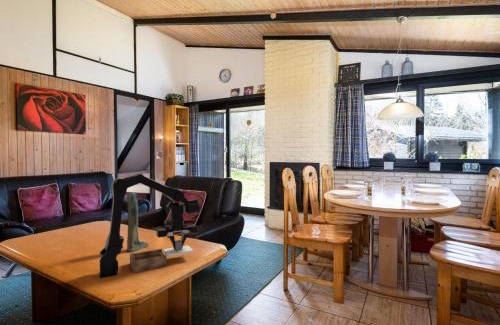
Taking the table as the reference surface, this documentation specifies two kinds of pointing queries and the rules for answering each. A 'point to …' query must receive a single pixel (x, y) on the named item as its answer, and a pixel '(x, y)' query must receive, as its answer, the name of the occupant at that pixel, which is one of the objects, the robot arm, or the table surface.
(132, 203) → the statue
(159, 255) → the box
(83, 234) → the table surface
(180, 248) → the cover
